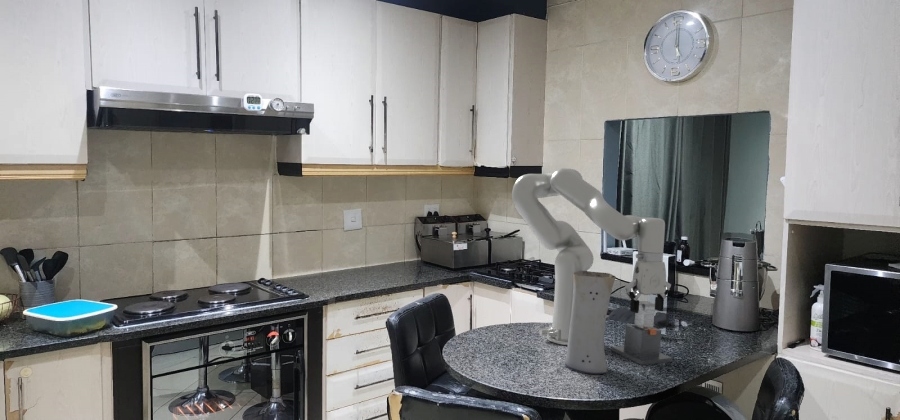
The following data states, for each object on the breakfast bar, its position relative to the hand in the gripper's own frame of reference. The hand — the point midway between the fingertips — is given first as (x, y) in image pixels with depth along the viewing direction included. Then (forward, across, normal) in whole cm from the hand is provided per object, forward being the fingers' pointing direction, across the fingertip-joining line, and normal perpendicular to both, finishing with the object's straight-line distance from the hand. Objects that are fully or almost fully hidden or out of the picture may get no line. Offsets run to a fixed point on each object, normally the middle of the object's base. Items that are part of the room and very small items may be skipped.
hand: (646, 311), depth 191 cm
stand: (+15, 0, +1) cm, 15 cm away
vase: (+15, -24, -4) cm, 29 cm away
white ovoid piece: (+14, +46, +57) cm, 75 cm away
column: (+13, 0, 0) cm, 13 cm away
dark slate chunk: (+15, +30, +38) cm, 50 cm away
